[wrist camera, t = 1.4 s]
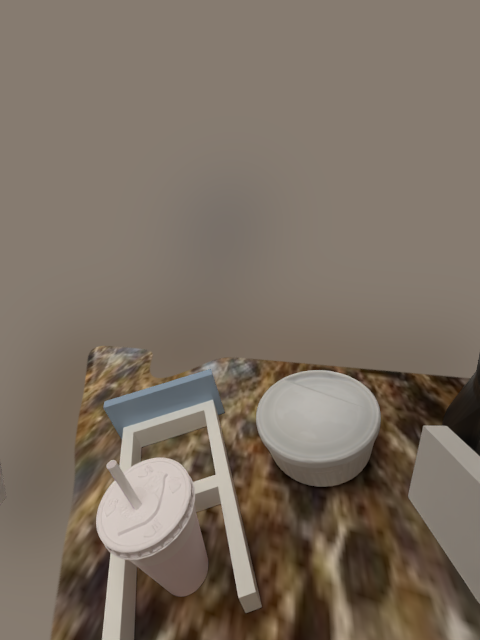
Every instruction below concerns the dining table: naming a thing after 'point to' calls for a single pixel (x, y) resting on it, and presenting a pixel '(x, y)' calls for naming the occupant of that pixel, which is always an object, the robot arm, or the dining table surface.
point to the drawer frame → (172, 420)
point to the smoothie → (155, 523)
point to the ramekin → (319, 426)
